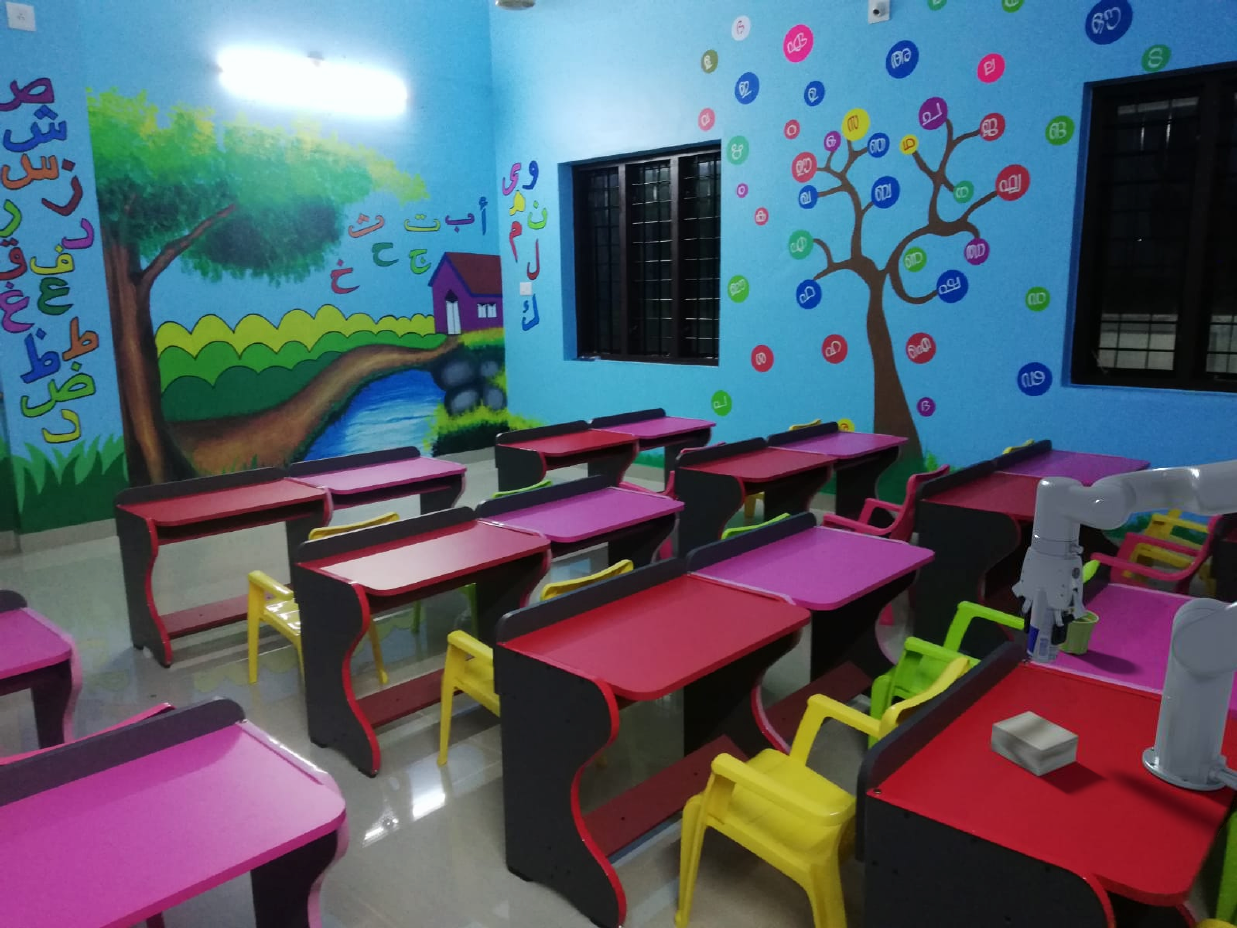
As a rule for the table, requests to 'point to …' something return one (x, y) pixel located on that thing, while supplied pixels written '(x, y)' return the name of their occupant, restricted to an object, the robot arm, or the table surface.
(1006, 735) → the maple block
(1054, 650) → the beverage can
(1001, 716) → the table surface
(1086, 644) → the plant pot
